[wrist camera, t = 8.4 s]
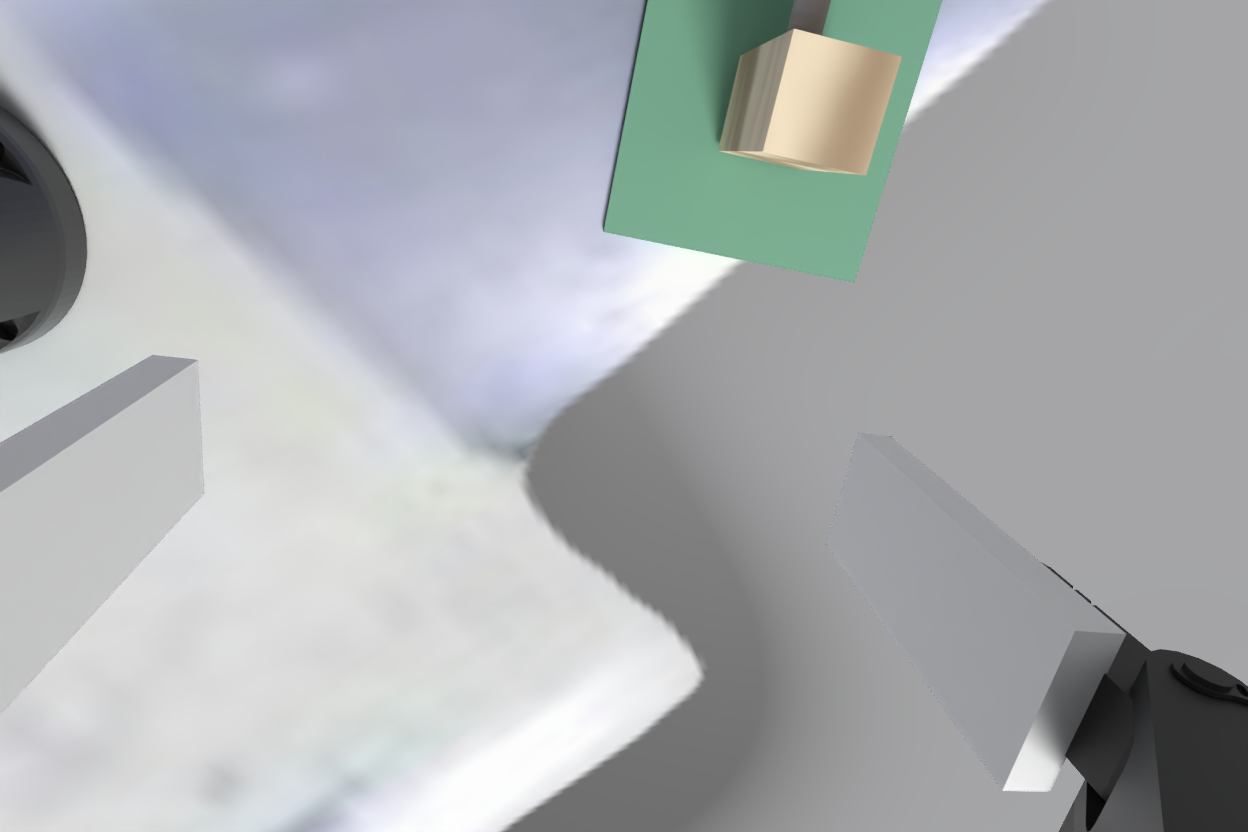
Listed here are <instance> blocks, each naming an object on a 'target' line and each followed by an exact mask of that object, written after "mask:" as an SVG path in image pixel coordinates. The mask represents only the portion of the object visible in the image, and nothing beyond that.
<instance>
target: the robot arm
mask: <svg viewBox="0 0 1248 832" xmlns="http://www.w3.org/2000/svg"><path fill="white" fill-rule="evenodd" d="M86 257H87V251H86V236H85V230H84V225H83V220H82V216H81V213H80V210H79V207H78V204H77V201H76V199H75V196H74V194H73V192H72V190H71V188H70V185H69V183H68V182H67V180H66V178H65V176H64V174H63V173H62V171H61V170H60V168H59V166H58V165H57V163H56V162H55V161H54V159H53V158H52V156H51V155H50V154H49V152H48V151H47V150H46V149H45V148H44V146H43V145H42V144H41V143H40V142H39V141H38V140H37V138H36V137H35V136H34V135H33V134H32V133H31V132H30V131H29V130H28V129H27V128H26V127H25V126H24V125H23V124H21V123H20V122H19V121H18V120H17V119H16V118H14V117H13V116H12V115H11V114H9V113H8V112H7V111H6V110H4V109H3V108H1V107H0V354H1V353H4V352H6V351H9V350H12V349H15V348H17V347H20V346H23V345H25V344H28V343H30V342H32V341H34V340H36V339H38V338H39V337H41V336H43V335H44V334H46V333H47V332H48V331H50V330H51V329H52V328H54V327H55V326H56V325H57V324H58V323H59V322H60V321H61V320H62V319H63V318H64V316H65V315H66V314H67V313H68V311H69V310H70V308H71V307H72V305H73V303H74V302H75V300H76V298H77V296H78V294H79V291H80V288H81V285H82V282H83V278H84V274H85V268H86ZM203 494H204V477H203V456H202V435H201V414H200V393H199V373H198V360H193V359H184V358H175V357H166V356H157V355H152V356H150V357H148V358H147V359H145V360H143V361H141V362H140V363H138V364H136V365H134V366H133V367H131V368H129V369H127V370H126V371H124V372H122V373H121V374H119V375H117V376H115V377H114V378H112V379H110V380H108V381H107V382H105V383H103V384H101V385H100V386H98V387H96V388H95V389H93V390H91V391H89V392H88V393H86V394H84V395H82V396H81V397H79V398H77V399H75V400H74V401H72V402H70V403H69V404H67V405H65V406H63V407H62V408H60V409H58V410H56V411H55V412H53V413H51V414H49V415H48V416H46V417H44V418H43V419H41V420H39V421H37V422H36V423H34V424H32V425H30V426H29V427H27V428H25V429H23V430H22V431H20V432H18V433H17V434H15V435H13V436H11V437H10V438H8V439H6V440H4V441H3V442H1V443H0V715H1V714H2V713H3V712H4V711H5V710H6V709H7V707H8V706H9V705H10V704H11V703H12V702H13V701H14V700H15V699H16V698H17V697H18V696H19V694H20V693H21V692H22V691H23V690H24V689H25V688H26V687H27V686H28V685H29V684H30V682H31V681H32V680H33V679H34V678H35V677H36V676H37V675H38V674H39V673H40V672H41V670H42V669H43V668H44V667H45V666H46V665H47V664H48V663H49V662H50V661H51V660H52V659H53V657H54V656H55V655H56V654H57V653H58V652H59V651H60V650H61V649H62V648H63V647H64V645H65V644H66V643H67V642H68V641H69V640H70V639H71V638H72V637H73V636H74V635H75V633H76V632H77V631H78V630H79V629H80V628H81V627H82V626H83V625H84V624H85V623H86V621H87V620H88V619H89V618H90V617H91V616H92V615H93V614H94V613H95V612H96V611H97V610H98V608H99V607H100V606H101V605H102V604H103V603H104V602H105V601H106V600H107V599H108V598H109V596H110V595H111V594H112V593H113V592H114V591H115V590H116V589H117V588H118V587H119V586H120V584H121V583H122V582H123V581H124V580H125V579H126V578H127V577H128V576H129V575H130V574H131V572H132V571H133V570H134V569H135V568H136V567H137V566H138V565H139V564H140V563H141V562H142V561H143V559H144V558H145V557H146V556H147V555H148V554H149V553H150V552H151V551H152V550H153V549H154V547H155V546H156V545H157V544H158V543H159V542H160V541H161V540H162V539H163V538H164V537H165V535H166V534H167V533H168V532H169V531H170V530H171V529H172V528H173V527H174V526H175V525H176V524H177V522H178V521H179V520H180V519H181V518H182V517H183V516H184V515H185V514H186V513H187V512H188V510H189V509H190V508H191V507H192V506H193V505H194V504H195V503H196V502H197V501H198V500H199V498H200V497H201V496H202V495H203ZM826 545H827V547H828V548H829V549H830V551H831V552H832V554H833V555H834V556H835V558H836V559H837V561H838V562H839V563H840V565H841V566H842V568H843V569H844V570H845V572H846V573H847V575H848V576H849V577H850V579H851V580H852V581H853V583H854V584H855V586H856V587H857V588H858V590H859V591H860V593H861V594H862V595H863V597H864V598H865V600H866V601H867V602H868V604H869V605H870V607H871V608H872V609H873V611H874V612H875V614H876V615H877V616H878V618H879V619H880V620H881V622H882V623H883V624H884V626H885V628H886V629H887V630H888V632H889V633H890V635H891V636H892V637H893V639H894V640H895V642H896V643H897V644H898V646H899V647H900V648H901V650H902V651H903V653H904V654H905V655H906V657H907V658H908V659H909V661H910V662H911V664H912V665H913V667H914V668H915V669H916V671H917V672H918V673H919V675H920V676H921V678H922V679H923V681H924V682H925V683H926V685H927V686H928V688H929V689H930V690H931V692H932V693H933V694H934V696H935V697H936V699H937V700H938V701H939V703H940V704H941V706H942V707H943V708H944V710H945V711H946V713H947V714H948V715H949V717H950V718H951V720H952V721H953V722H954V724H955V725H956V727H957V728H958V729H959V731H960V732H961V734H962V735H963V736H964V738H965V739H966V740H967V742H968V743H969V745H970V746H971V747H972V749H973V750H974V752H975V753H976V754H977V756H978V757H979V759H980V760H981V761H982V763H983V764H984V766H985V767H986V768H987V770H988V771H989V773H990V774H991V775H992V777H993V778H994V780H995V781H996V782H997V784H998V785H999V787H1000V788H1001V789H1002V791H1045V792H1046V791H1047V792H1050V790H1051V788H1052V786H1053V784H1054V782H1055V780H1056V778H1057V776H1058V774H1059V772H1060V770H1061V768H1062V766H1063V764H1064V762H1065V760H1066V757H1067V758H1068V759H1069V760H1070V762H1071V763H1072V764H1073V765H1074V766H1075V768H1076V769H1077V770H1078V771H1079V772H1080V773H1081V774H1082V776H1083V777H1084V778H1085V781H1084V783H1083V785H1082V787H1081V789H1080V791H1079V793H1078V795H1077V796H1076V799H1075V800H1074V803H1073V804H1072V806H1071V808H1070V810H1069V813H1068V814H1067V816H1066V819H1065V820H1064V822H1063V824H1062V826H1061V828H1060V830H1059V832H1248V686H1246V685H1245V684H1244V683H1243V682H1241V681H1240V680H1238V679H1237V678H1235V677H1233V676H1232V675H1230V674H1228V673H1227V672H1225V671H1224V670H1222V669H1221V668H1218V667H1216V666H1214V665H1212V664H1210V663H1208V662H1205V661H1203V660H1201V659H1199V658H1196V657H1193V656H1190V655H1186V654H1184V653H1181V652H1177V651H1170V650H1162V649H1160V650H1155V651H1150V650H1149V649H1148V648H1146V647H1145V646H1144V645H1143V644H1142V643H1140V642H1139V641H1138V640H1137V639H1136V638H1134V637H1133V636H1132V635H1131V634H1129V633H1128V632H1127V631H1126V630H1125V629H1124V628H1122V627H1121V626H1120V625H1119V624H1117V623H1116V622H1115V621H1114V620H1113V619H1112V618H1110V617H1109V616H1108V615H1107V614H1106V613H1104V612H1103V611H1102V610H1101V609H1100V608H1098V607H1097V606H1096V605H1091V601H1090V600H1089V599H1088V598H1086V597H1085V596H1084V595H1083V594H1082V593H1080V592H1079V591H1078V590H1073V586H1072V585H1071V584H1070V583H1068V582H1067V581H1066V580H1065V579H1063V578H1062V577H1061V576H1060V575H1059V574H1057V573H1056V572H1055V571H1054V570H1053V569H1052V568H1050V567H1048V566H1046V565H1045V564H1043V563H1042V562H1040V561H1039V560H1038V559H1036V558H1035V557H1034V556H1033V555H1032V554H1030V553H1029V552H1028V551H1027V550H1026V549H1025V548H1023V547H1022V546H1021V545H1020V544H1018V543H1017V542H1016V541H1015V540H1014V539H1013V538H1011V537H1010V536H1009V535H1008V534H1007V533H1005V532H1004V531H1003V530H1002V529H1000V528H999V527H998V526H997V525H996V524H994V522H992V521H991V520H990V519H989V518H988V517H986V516H985V515H984V514H983V513H982V512H980V511H979V510H978V509H977V508H976V507H975V506H973V505H972V504H971V503H970V502H968V501H967V500H966V499H965V498H964V497H963V496H961V495H960V494H959V493H958V492H957V491H955V490H954V489H953V488H952V487H951V486H949V485H948V484H947V483H946V482H945V481H944V480H942V479H941V478H940V477H939V476H937V475H936V474H935V473H934V472H933V471H932V470H930V469H929V468H928V467H927V466H925V465H924V464H923V463H922V462H921V461H919V459H917V458H916V457H915V456H913V454H911V453H910V452H909V451H908V450H906V449H905V448H904V447H903V446H902V445H900V444H899V443H898V442H897V441H896V440H895V439H894V438H892V437H891V436H882V435H873V434H864V433H858V436H857V439H856V442H855V446H854V449H853V453H852V456H851V459H850V463H849V466H848V470H847V473H846V476H845V480H844V483H843V487H842V490H841V494H840V497H839V500H838V504H837V507H836V510H835V514H834V517H833V520H832V524H831V527H830V531H829V534H828V537H827V541H826Z"/></svg>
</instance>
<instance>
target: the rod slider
mask: <svg viewBox="0 0 1248 832" xmlns="http://www.w3.org/2000/svg"><path fill="white" fill-rule="evenodd" d="M830 3H831V0H794V4H793V8H792V12H791V16H790V20H789V24H788V28H787V32H786V33H784V34H782V35H780V36H778V37H776V38H774V39H772V40H770V41H768V42H766V43H764V44H762V45H760V46H758V47H756V48H754V49H752V50H750V51H748V52H746V53H745V54H743V55H741V56H740V59H739V63H738V68H737V72H736V76H735V80H734V85H733V89H732V93H731V98H730V102H729V106H728V110H727V115H726V119H725V123H724V127H723V132H722V136H721V140H720V144H719V149H718V151H721V152H725V153H730V154H734V155H738V156H743V157H747V158H752V159H756V160H760V161H765V162H769V163H774V164H778V165H783V166H787V167H791V168H796V169H800V170H812V171H823V172H835V173H846V174H858V175H866V174H867V171H868V167H869V164H870V161H871V158H872V154H873V151H874V148H875V144H876V141H877V138H878V134H879V131H880V128H881V124H882V121H883V118H884V115H885V111H886V108H887V105H888V101H889V98H890V95H891V91H892V88H893V85H894V82H895V78H896V75H897V72H898V68H899V65H900V62H901V58H902V56H898V55H895V54H891V53H887V52H883V51H879V50H875V49H871V48H867V47H864V46H860V45H856V44H852V43H848V42H844V41H840V40H836V39H833V38H829V37H825V36H822V33H823V29H824V25H825V22H826V18H827V14H828V10H829V7H830Z"/></svg>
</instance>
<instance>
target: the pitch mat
mask: <svg viewBox="0 0 1248 832" xmlns="http://www.w3.org/2000/svg"><path fill="white" fill-rule="evenodd" d="M941 3H942V0H831V3H830V7H829V10H828V14H827V18H826V22H825V25H824V29H823V33H822V36H825V37H829V38H833V39H836V40H840V41H844V42H848V43H852V44H856V45H860V46H864V47H867V48H871V49H875V50H879V51H883V52H887V53H891V54H895V55H898V56H902V58H901V62H900V65H899V68H898V72H897V75H896V78H895V82H894V85H893V88H892V91H891V95H890V98H889V101H888V105H887V108H886V111H885V115H884V118H883V121H882V124H881V128H880V131H879V134H878V138H877V141H876V144H875V148H874V151H873V154H872V158H871V161H870V164H869V167H868V171H867V174H866V175H858V174H846V173H835V172H823V171H812V170H800V169H796V168H791V167H787V166H783V165H778V164H774V163H769V162H765V161H760V160H756V159H752V158H747V157H743V156H738V155H734V154H730V153H725V152H721V151H718V149H719V144H720V140H721V136H722V132H723V127H724V123H725V119H726V115H727V110H728V106H729V102H730V98H731V93H732V89H733V85H734V80H735V76H736V72H737V68H738V63H739V59H740V56H741V55H743V54H745V53H746V52H748V51H750V50H752V49H754V48H756V47H758V46H760V45H762V44H764V43H766V42H768V41H770V40H772V39H774V38H776V37H778V36H780V35H782V34H784V33H786V32H787V28H788V24H789V20H790V16H791V12H792V8H793V4H794V0H647V5H646V10H645V16H644V21H643V26H642V31H641V36H640V42H639V47H638V52H637V57H636V63H635V68H634V73H633V78H632V83H631V89H630V94H629V99H628V104H627V110H626V115H625V120H624V125H623V130H622V136H621V141H620V146H619V151H618V157H617V162H616V167H615V172H614V177H613V183H612V188H611V193H610V198H609V204H608V209H607V214H606V219H605V224H604V230H603V231H604V232H607V233H612V234H617V235H622V236H627V237H632V238H637V239H642V240H647V241H652V242H657V243H662V244H666V245H671V246H676V247H681V248H686V249H691V250H696V251H701V252H706V253H711V254H716V255H721V256H725V257H730V258H735V259H740V260H745V261H750V262H755V263H760V264H765V265H770V266H775V267H780V268H785V269H790V270H794V271H799V272H805V273H809V274H814V275H819V276H824V277H829V278H834V279H839V280H844V281H849V282H853V283H854V282H855V278H856V275H857V272H858V269H859V266H860V262H861V259H862V256H863V253H864V250H865V246H866V243H867V240H868V237H869V234H870V230H871V227H872V224H873V220H874V218H875V214H876V211H877V208H878V205H879V201H880V198H881V195H882V192H883V189H884V185H885V182H886V179H887V176H888V173H889V169H890V166H891V163H892V160H893V157H894V153H895V150H896V147H897V144H898V141H899V138H900V134H901V131H902V128H903V125H904V122H905V118H906V115H907V112H908V109H909V106H910V102H911V99H912V96H913V93H914V89H915V86H916V83H917V80H918V77H919V73H920V70H921V67H922V64H923V61H924V57H925V54H926V51H927V48H928V45H929V41H930V38H931V35H932V32H933V29H934V25H935V22H936V19H937V16H938V13H939V9H940V6H941Z"/></svg>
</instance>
